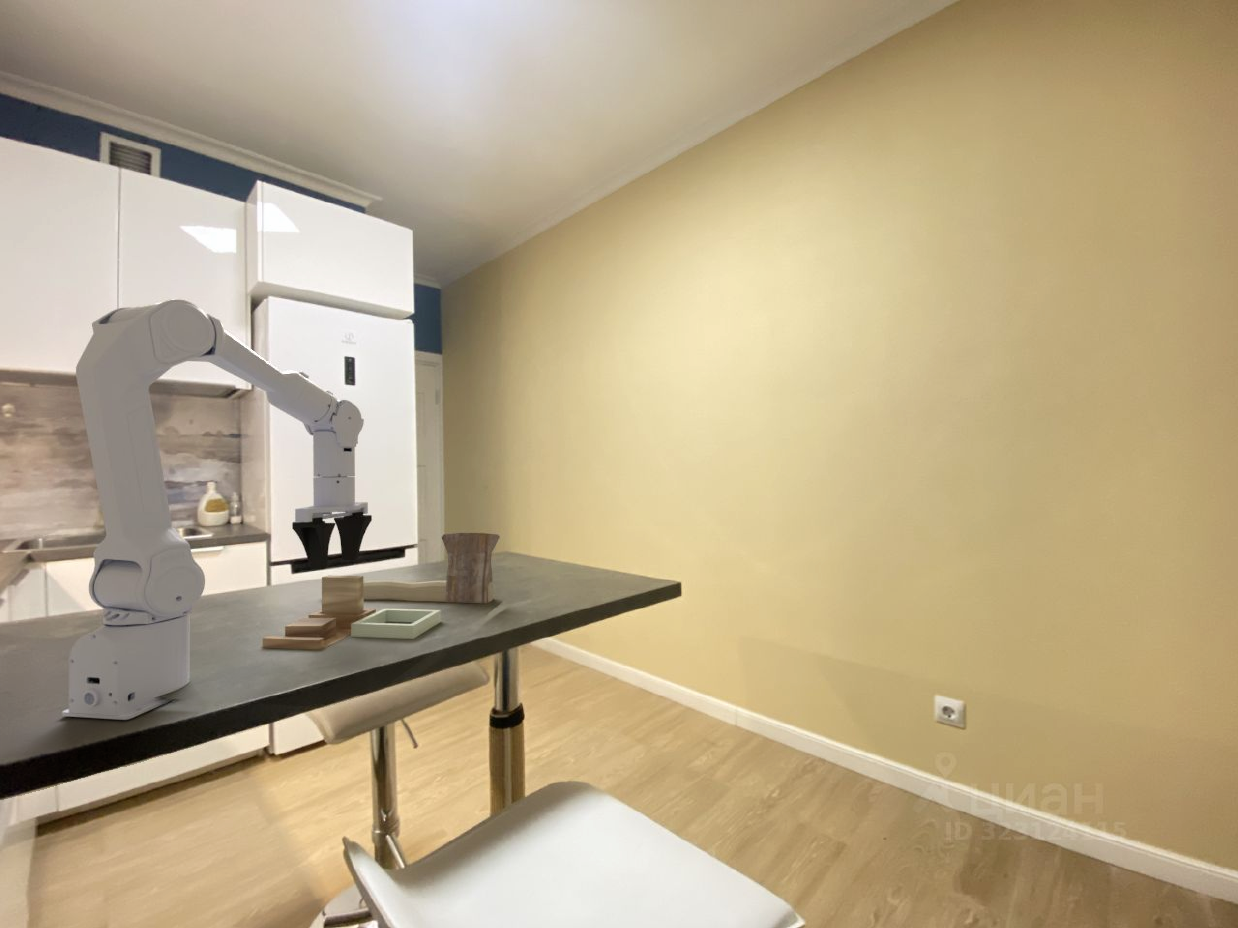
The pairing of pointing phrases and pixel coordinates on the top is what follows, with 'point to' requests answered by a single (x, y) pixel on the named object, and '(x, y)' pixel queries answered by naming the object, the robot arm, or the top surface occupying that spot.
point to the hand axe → (448, 574)
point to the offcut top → (310, 626)
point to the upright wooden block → (342, 594)
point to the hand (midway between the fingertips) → (334, 564)
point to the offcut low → (325, 635)
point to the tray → (380, 629)
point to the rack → (318, 643)
